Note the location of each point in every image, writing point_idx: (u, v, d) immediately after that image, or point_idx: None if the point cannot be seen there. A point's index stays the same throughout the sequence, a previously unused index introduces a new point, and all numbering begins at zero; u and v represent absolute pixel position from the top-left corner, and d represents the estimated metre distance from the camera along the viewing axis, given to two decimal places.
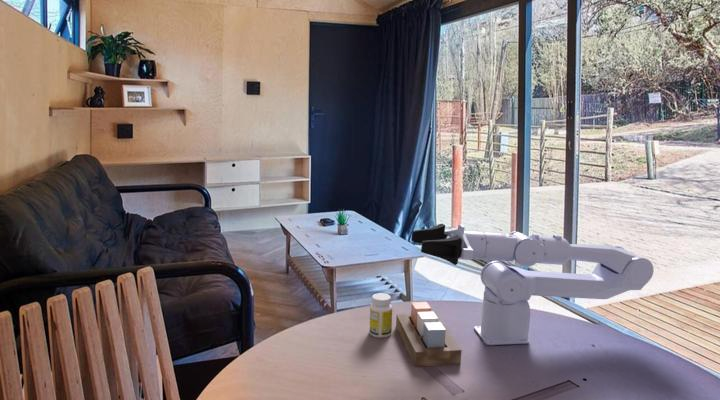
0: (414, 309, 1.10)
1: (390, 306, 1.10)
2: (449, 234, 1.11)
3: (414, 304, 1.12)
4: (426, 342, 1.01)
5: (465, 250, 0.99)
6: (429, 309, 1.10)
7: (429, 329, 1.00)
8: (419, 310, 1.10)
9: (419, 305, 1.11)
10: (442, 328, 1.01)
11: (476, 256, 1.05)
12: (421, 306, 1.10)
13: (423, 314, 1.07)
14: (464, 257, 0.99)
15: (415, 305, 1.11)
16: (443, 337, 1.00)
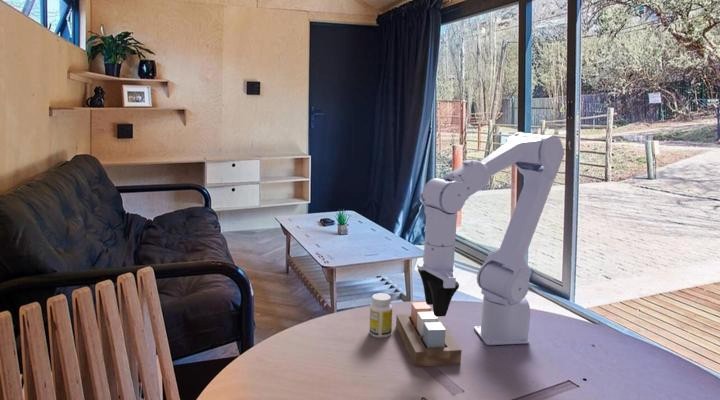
0: (414, 309, 1.10)
1: (390, 306, 1.10)
2: None
3: (414, 304, 1.12)
4: (426, 342, 1.01)
5: (445, 286, 0.92)
6: (429, 309, 1.10)
7: (429, 329, 1.00)
8: (419, 310, 1.10)
9: (419, 305, 1.11)
10: (442, 328, 1.01)
11: (451, 253, 0.96)
12: (421, 306, 1.10)
13: (423, 314, 1.07)
14: (452, 286, 0.92)
15: (415, 305, 1.11)
16: (443, 337, 1.00)
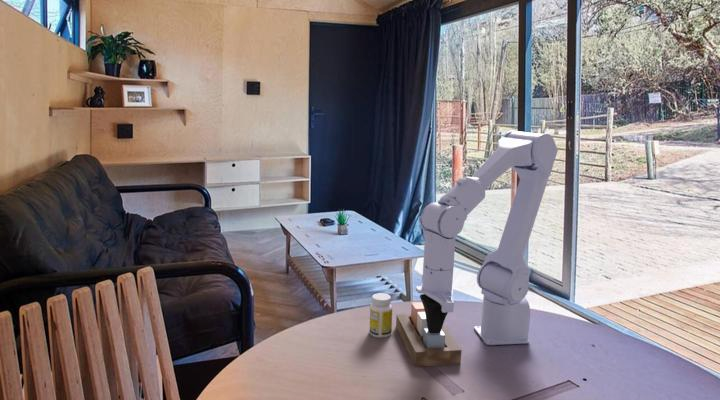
0: (414, 309, 1.10)
1: (390, 306, 1.10)
2: None
3: (414, 304, 1.12)
4: None
5: (443, 311, 0.93)
6: None
7: (429, 335, 1.00)
8: (419, 310, 1.10)
9: (419, 305, 1.11)
10: (442, 334, 1.01)
11: (450, 277, 0.97)
12: (421, 306, 1.10)
13: (423, 314, 1.07)
14: (451, 310, 0.93)
15: (415, 305, 1.11)
16: (443, 343, 1.01)
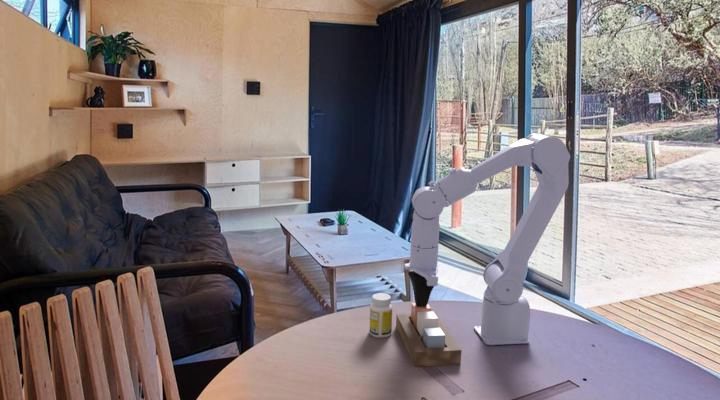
0: (414, 309, 1.10)
1: (390, 306, 1.10)
2: None
3: (414, 304, 1.12)
4: None
5: (428, 284, 1.03)
6: (429, 309, 1.10)
7: (429, 335, 1.00)
8: (419, 310, 1.10)
9: None
10: (442, 334, 1.01)
11: (435, 254, 1.07)
12: None
13: (423, 314, 1.07)
14: (435, 283, 1.03)
15: (415, 305, 1.11)
16: (443, 343, 1.01)
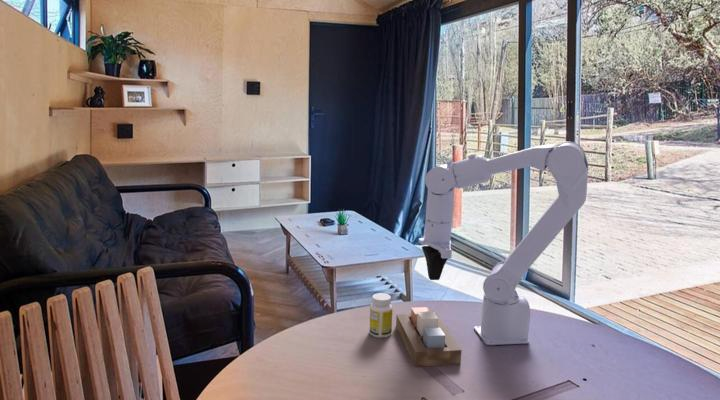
0: (414, 314, 1.10)
1: (390, 306, 1.10)
2: None
3: (414, 309, 1.12)
4: None
5: (442, 257, 1.07)
6: None
7: (429, 335, 1.00)
8: None
9: (419, 310, 1.11)
10: (442, 334, 1.01)
11: (448, 229, 1.12)
12: None
13: (423, 314, 1.07)
14: (449, 256, 1.08)
15: (415, 310, 1.11)
16: (443, 343, 1.01)
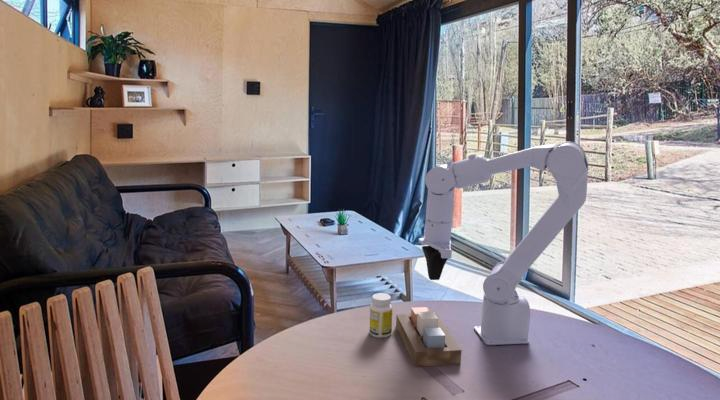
0: (414, 314, 1.10)
1: (390, 306, 1.10)
2: None
3: (414, 309, 1.12)
4: None
5: (442, 256, 1.07)
6: None
7: (429, 335, 1.00)
8: None
9: (419, 310, 1.11)
10: (442, 334, 1.01)
11: (448, 229, 1.12)
12: None
13: (423, 314, 1.07)
14: (449, 256, 1.08)
15: (415, 310, 1.11)
16: (443, 343, 1.01)
